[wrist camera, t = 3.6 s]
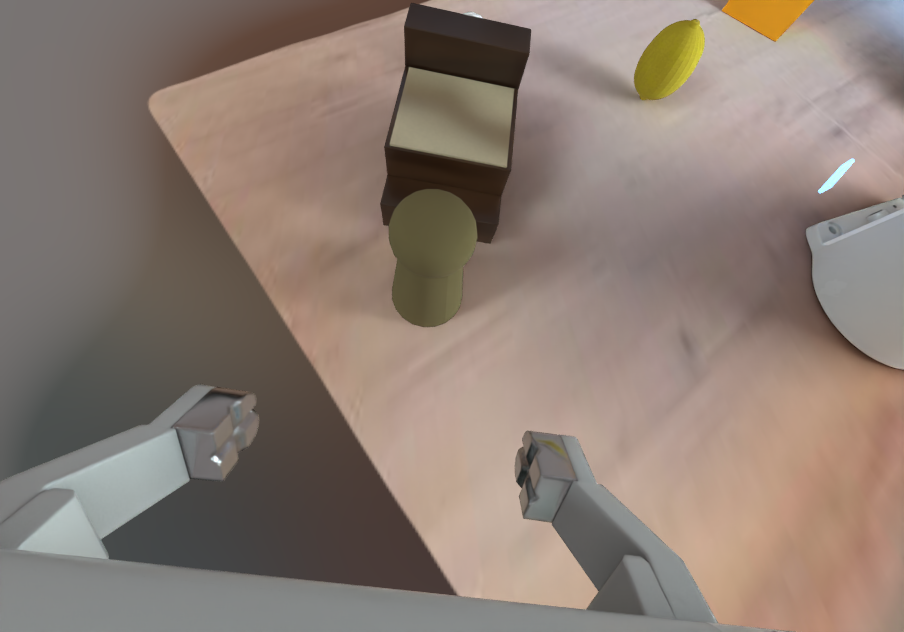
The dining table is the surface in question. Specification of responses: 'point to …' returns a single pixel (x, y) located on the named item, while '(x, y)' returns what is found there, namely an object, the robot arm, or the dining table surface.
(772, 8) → the orange juice
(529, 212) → the dining table surface
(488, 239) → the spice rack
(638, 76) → the lemon
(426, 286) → the cork
